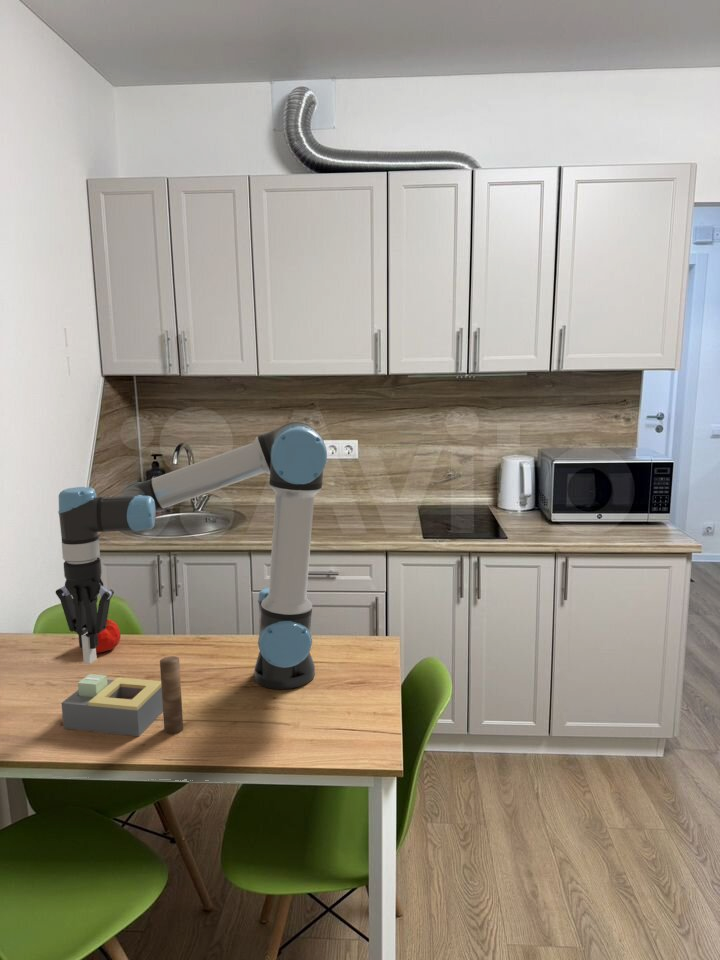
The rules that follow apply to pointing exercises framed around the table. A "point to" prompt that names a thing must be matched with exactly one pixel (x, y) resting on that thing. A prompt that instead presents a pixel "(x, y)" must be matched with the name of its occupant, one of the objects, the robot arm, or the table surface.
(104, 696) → the breaker box
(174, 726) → the rounded rod
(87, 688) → the on button
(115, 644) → the tomato
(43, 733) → the table surface
